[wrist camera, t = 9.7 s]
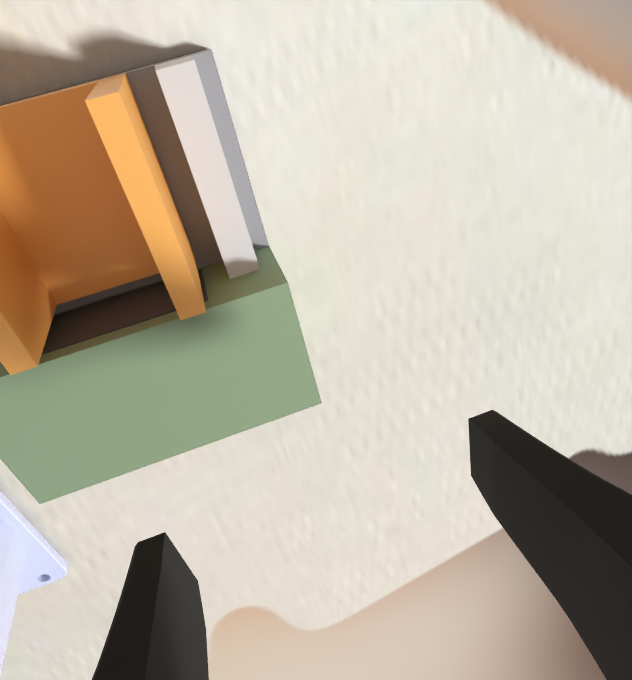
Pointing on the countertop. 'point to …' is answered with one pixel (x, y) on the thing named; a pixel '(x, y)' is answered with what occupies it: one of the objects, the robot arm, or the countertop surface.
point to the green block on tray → (165, 320)
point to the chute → (82, 211)
